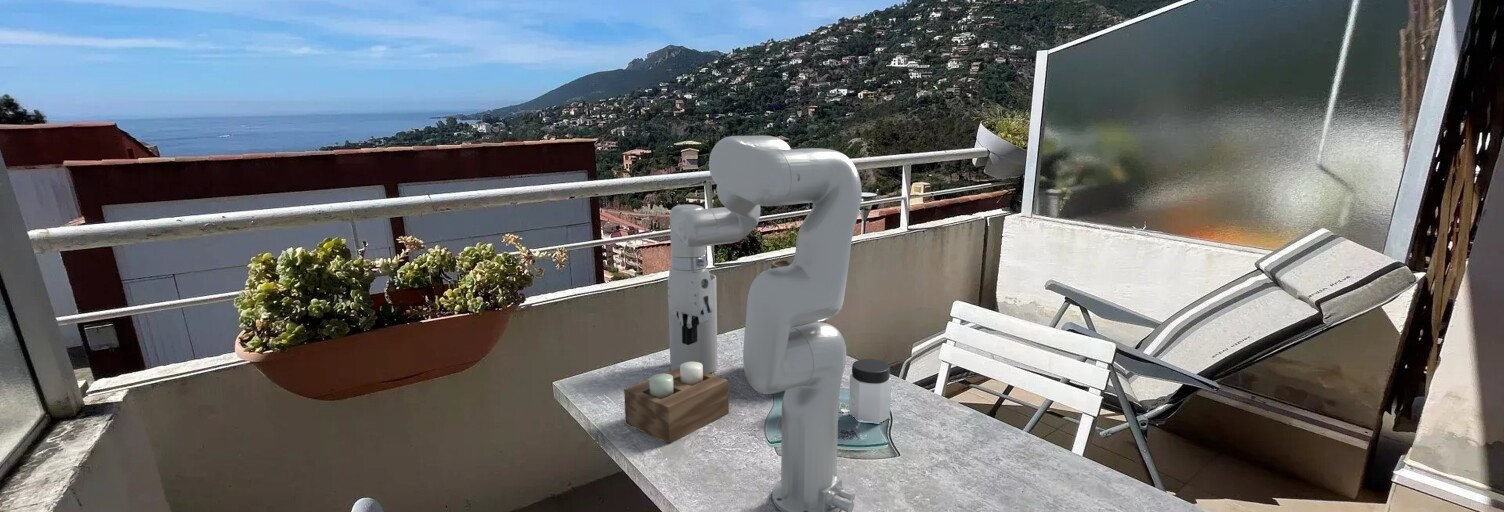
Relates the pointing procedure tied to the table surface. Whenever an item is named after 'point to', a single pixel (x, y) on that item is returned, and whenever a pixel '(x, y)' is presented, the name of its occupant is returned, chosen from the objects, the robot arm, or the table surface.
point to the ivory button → (691, 373)
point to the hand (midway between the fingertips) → (689, 342)
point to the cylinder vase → (705, 344)
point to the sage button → (661, 385)
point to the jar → (870, 390)
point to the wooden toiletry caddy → (677, 406)
